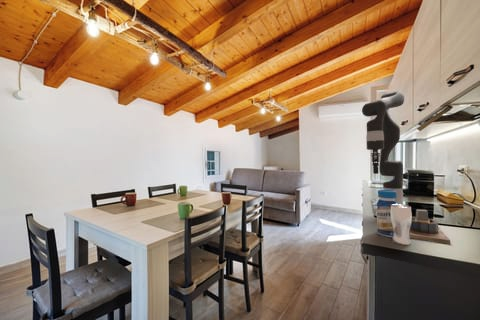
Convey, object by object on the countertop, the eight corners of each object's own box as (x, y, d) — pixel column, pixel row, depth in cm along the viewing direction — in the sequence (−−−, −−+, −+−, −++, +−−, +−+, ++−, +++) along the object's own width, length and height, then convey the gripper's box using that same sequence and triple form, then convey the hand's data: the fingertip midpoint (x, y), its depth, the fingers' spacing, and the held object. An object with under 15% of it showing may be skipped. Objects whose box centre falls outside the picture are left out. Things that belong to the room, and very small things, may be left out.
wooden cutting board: (400, 224, 104) (400, 221, 104) (437, 229, 96) (437, 226, 96) (405, 237, 87) (405, 233, 87) (450, 244, 79) (450, 240, 79)
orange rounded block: (413, 227, 95) (412, 208, 95) (426, 228, 93) (426, 209, 93) (418, 231, 90) (417, 211, 90) (432, 232, 88) (431, 212, 88)
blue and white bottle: (404, 236, 88) (403, 191, 88) (390, 239, 85) (389, 192, 86) (385, 230, 96) (384, 188, 96) (372, 232, 93) (371, 190, 94)
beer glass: (391, 237, 87) (390, 203, 87) (412, 241, 83) (411, 205, 83) (390, 242, 82) (389, 206, 82) (413, 247, 77) (411, 208, 77)
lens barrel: (406, 224, 99) (405, 215, 99) (434, 228, 93) (434, 218, 93) (408, 231, 90) (408, 221, 90) (440, 235, 84) (440, 224, 84)
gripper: (366, 141, 111) (367, 172, 111) (365, 139, 100) (366, 174, 100) (383, 140, 107) (384, 173, 106) (384, 138, 96) (385, 174, 95)
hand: (375, 173), depth 103 cm, fingers closed
